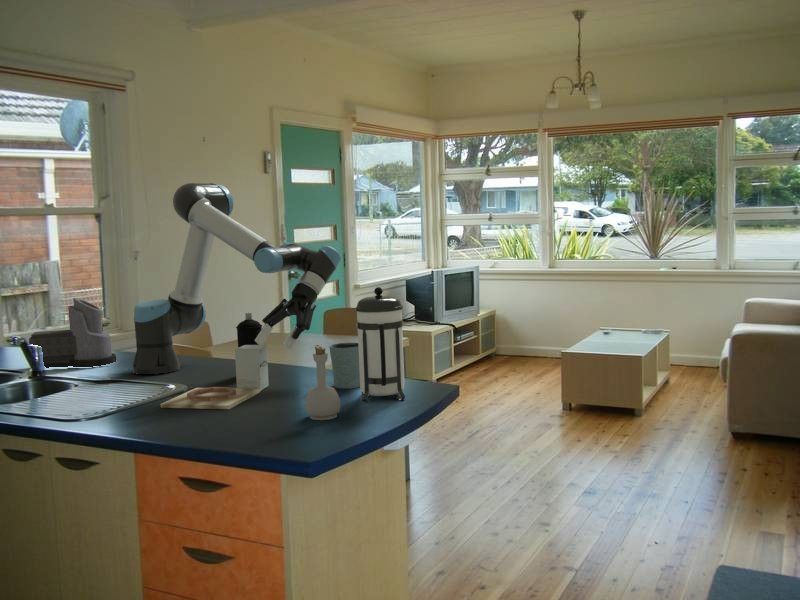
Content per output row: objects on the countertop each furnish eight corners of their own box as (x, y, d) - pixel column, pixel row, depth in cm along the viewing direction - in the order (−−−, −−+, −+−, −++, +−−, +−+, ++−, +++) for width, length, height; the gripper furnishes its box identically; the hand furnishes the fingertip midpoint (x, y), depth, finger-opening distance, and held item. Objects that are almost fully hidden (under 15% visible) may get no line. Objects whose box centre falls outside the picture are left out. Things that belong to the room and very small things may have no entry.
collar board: (160, 407, 215) (160, 399, 215) (196, 391, 235) (196, 383, 234) (228, 409, 210) (228, 401, 210) (260, 392, 230) (259, 384, 229)
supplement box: (260, 392, 230) (257, 348, 229) (236, 391, 232) (233, 348, 230) (269, 386, 237) (267, 344, 236) (246, 386, 239) (243, 344, 237)
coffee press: (341, 399, 217) (335, 289, 214) (383, 388, 228) (379, 283, 225) (385, 408, 205) (380, 291, 202) (428, 396, 216) (424, 286, 213)
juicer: (121, 358, 296) (116, 293, 294) (118, 366, 281) (112, 297, 278) (34, 365, 289) (28, 298, 286) (25, 373, 274) (19, 302, 271)
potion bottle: (323, 410, 205) (319, 341, 203) (348, 415, 199) (345, 343, 197) (298, 418, 198) (294, 346, 196) (323, 423, 193) (320, 349, 191)
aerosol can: (262, 377, 251) (258, 314, 249) (236, 378, 251) (232, 315, 249) (267, 372, 259) (263, 311, 257) (242, 373, 259) (238, 311, 257)
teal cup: (344, 390, 228) (342, 349, 226) (324, 385, 235) (322, 345, 234) (372, 384, 234) (370, 344, 233) (352, 380, 242) (350, 340, 240)
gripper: (341, 298, 240) (306, 356, 231) (289, 295, 257) (254, 349, 248) (327, 283, 236) (290, 340, 227) (275, 280, 253) (239, 334, 244)
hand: (271, 345), depth 237 cm, fingers open, 13 cm apart
